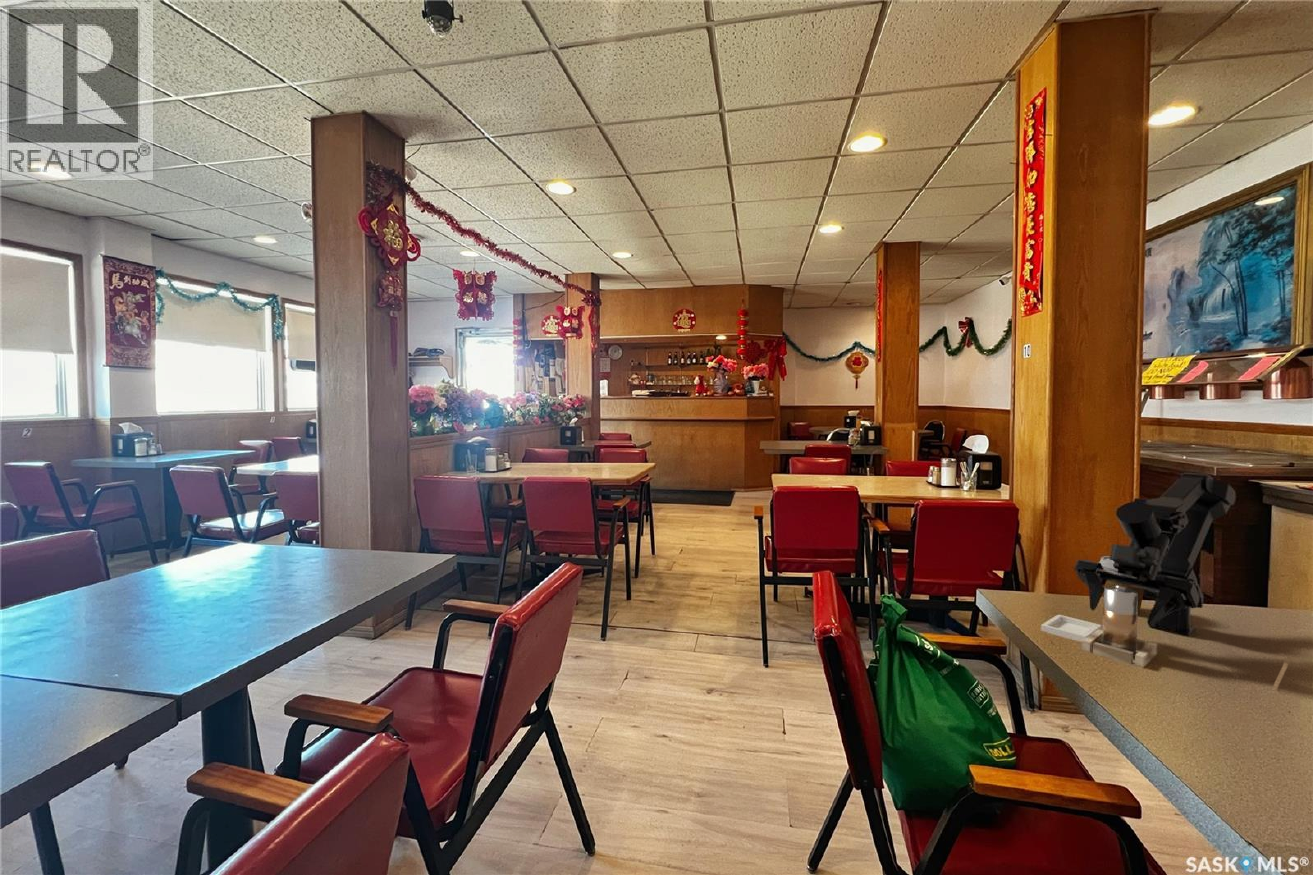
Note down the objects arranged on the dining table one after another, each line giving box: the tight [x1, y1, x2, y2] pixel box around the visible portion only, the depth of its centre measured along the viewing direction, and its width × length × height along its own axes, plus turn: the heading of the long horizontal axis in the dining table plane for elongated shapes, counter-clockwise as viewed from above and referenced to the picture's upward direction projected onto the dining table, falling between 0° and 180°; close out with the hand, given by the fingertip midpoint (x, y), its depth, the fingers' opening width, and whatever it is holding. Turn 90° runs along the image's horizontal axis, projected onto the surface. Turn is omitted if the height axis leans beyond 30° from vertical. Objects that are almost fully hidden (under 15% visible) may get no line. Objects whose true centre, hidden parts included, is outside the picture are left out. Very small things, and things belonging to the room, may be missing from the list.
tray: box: [1040, 614, 1103, 643], centre depth 120 cm, size 10×8×2 cm
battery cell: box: [1102, 585, 1139, 658], centre depth 109 cm, size 5×5×13 cm
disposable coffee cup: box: [1098, 555, 1144, 614], centre depth 133 cm, size 10×10×12 cm
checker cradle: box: [1081, 629, 1158, 669], centre depth 109 cm, size 9×9×2 cm
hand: (1119, 616), depth 108 cm, fingers open, 9 cm apart
